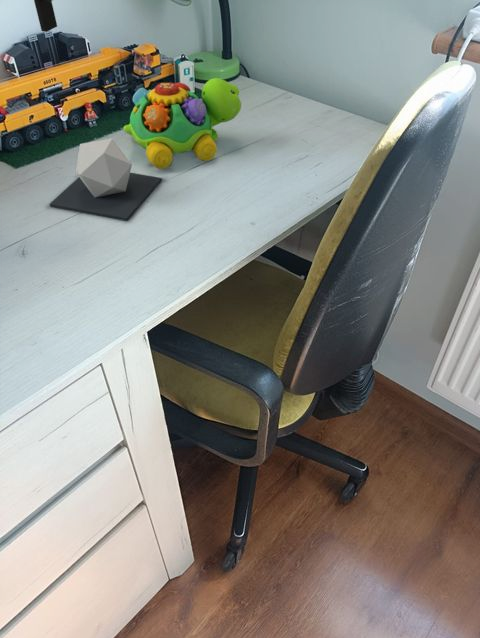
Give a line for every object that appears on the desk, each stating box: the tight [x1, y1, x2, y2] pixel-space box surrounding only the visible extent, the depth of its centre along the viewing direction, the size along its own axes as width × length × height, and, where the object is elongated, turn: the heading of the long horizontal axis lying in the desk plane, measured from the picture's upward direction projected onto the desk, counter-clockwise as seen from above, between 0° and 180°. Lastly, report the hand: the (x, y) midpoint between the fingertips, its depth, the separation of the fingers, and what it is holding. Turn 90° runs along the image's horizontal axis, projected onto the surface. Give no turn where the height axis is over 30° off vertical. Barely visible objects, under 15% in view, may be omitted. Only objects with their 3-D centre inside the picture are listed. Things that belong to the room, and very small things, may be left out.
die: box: [75, 137, 133, 198], centre depth 85 cm, size 8×9×10 cm
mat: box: [49, 172, 163, 222], centre depth 88 cm, size 14×14×1 cm
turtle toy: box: [123, 77, 242, 170], centre depth 97 cm, size 17×23×12 cm
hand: (6, 24), depth 72 cm, fingers open, 13 cm apart
